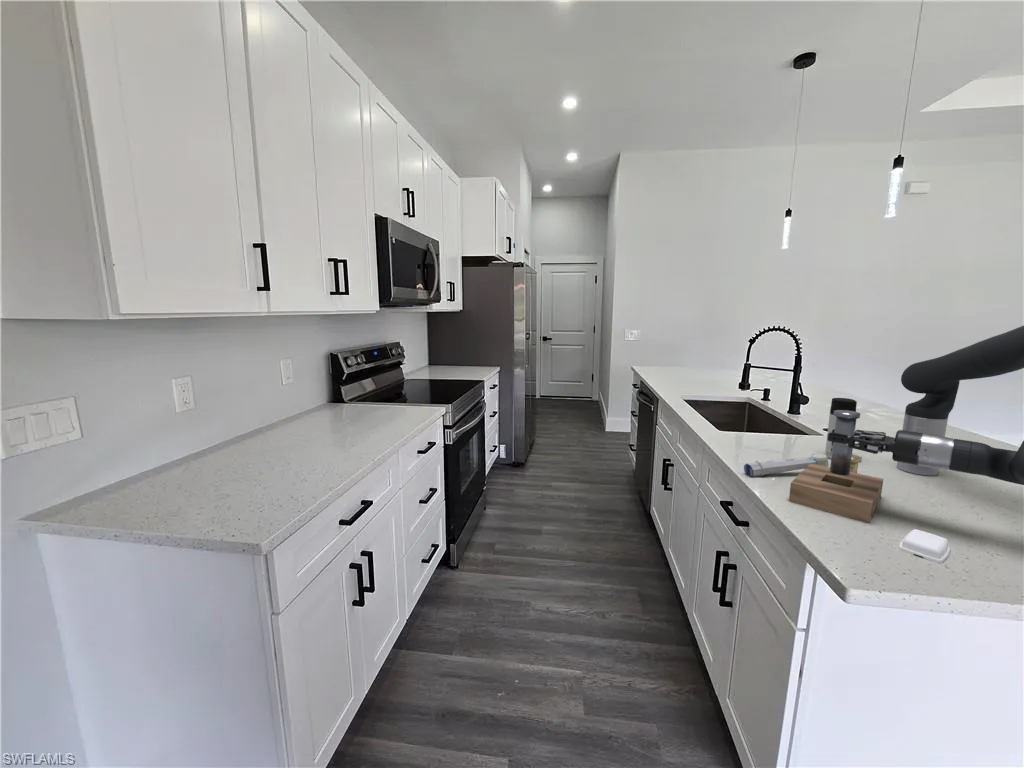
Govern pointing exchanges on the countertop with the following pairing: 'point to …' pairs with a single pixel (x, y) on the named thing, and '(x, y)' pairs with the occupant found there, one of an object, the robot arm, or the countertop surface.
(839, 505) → the hole block
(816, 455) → the white electric toothbrush
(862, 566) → the countertop surface
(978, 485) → the countertop surface
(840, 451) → the long pin
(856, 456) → the short pin
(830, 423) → the spray can
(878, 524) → the countertop surface
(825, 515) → the countertop surface
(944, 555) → the soap
